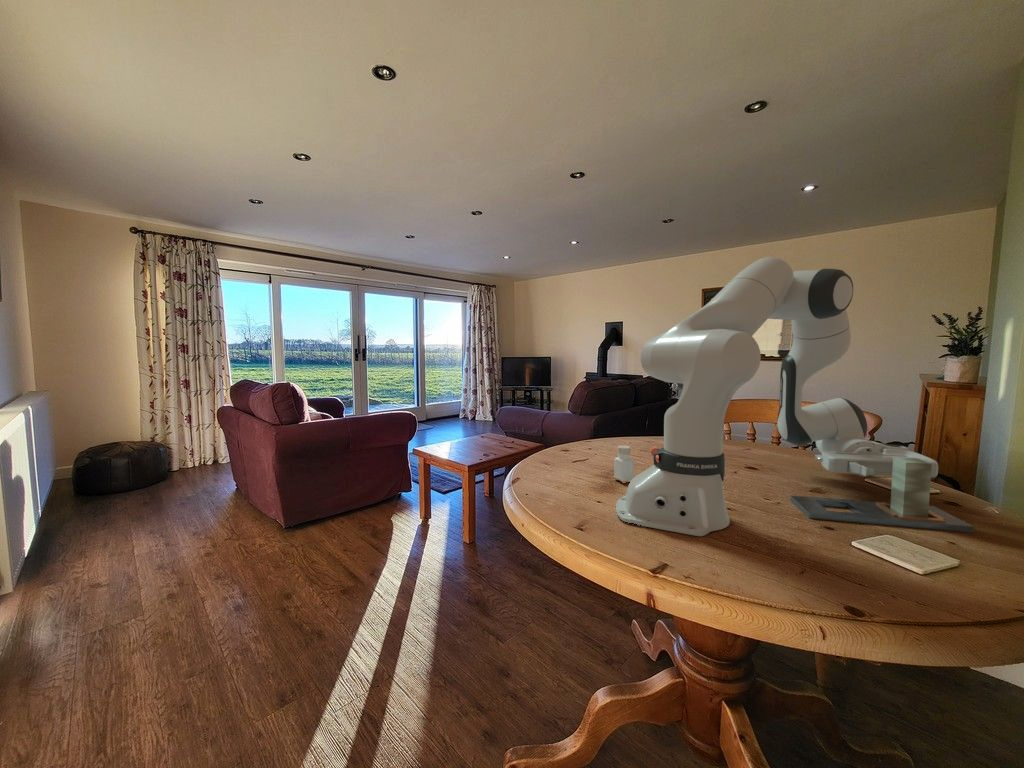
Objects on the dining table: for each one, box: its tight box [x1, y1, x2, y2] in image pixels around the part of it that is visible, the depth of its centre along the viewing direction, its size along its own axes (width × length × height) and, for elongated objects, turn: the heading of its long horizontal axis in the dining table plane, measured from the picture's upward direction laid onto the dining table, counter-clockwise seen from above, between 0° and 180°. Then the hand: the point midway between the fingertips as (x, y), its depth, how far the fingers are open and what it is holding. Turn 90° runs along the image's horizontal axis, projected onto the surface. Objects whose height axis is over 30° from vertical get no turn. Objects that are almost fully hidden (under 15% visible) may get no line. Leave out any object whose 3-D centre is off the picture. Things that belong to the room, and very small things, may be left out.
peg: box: [890, 457, 932, 518], centre depth 79 cm, size 4×4×12 cm
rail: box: [789, 495, 975, 534], centre depth 81 cm, size 26×10×2 cm, turn 73°
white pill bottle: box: [613, 444, 635, 481], centre depth 105 cm, size 4×4×10 cm
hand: (896, 474), depth 83 cm, fingers open, 8 cm apart
